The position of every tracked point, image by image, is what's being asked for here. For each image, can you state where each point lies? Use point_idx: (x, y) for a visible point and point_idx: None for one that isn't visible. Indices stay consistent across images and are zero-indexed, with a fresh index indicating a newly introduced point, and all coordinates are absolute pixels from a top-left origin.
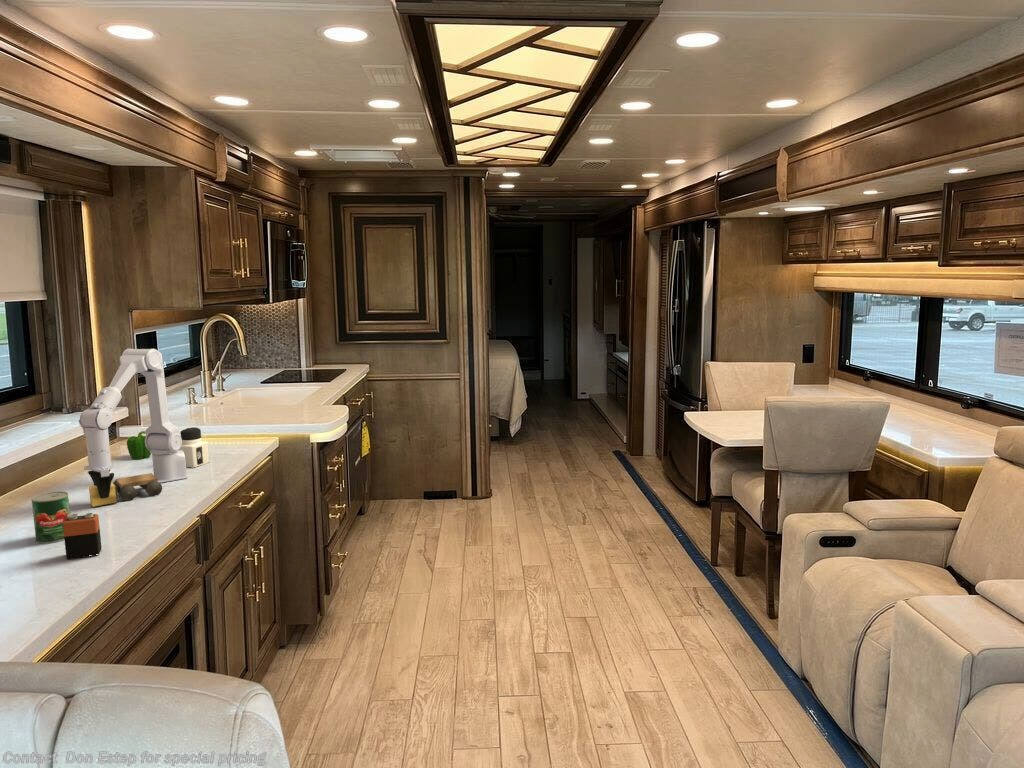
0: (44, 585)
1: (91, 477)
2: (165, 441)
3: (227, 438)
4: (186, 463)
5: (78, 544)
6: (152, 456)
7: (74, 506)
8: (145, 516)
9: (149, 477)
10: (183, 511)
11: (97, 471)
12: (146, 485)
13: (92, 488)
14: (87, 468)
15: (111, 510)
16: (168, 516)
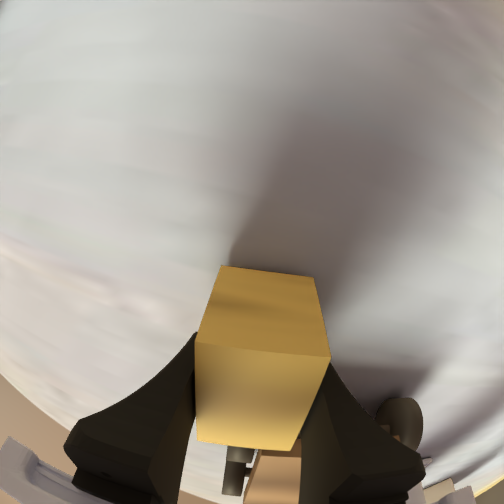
0: None
1: (337, 443)
2: None
3: (481, 493)
4: (425, 496)
5: None
6: None
7: (368, 195)
8: (11, 337)
9: (283, 501)
10: (30, 397)
11: (47, 495)
12: (239, 475)
13: (229, 358)
14: None
15: (120, 307)
16: (3, 362)
